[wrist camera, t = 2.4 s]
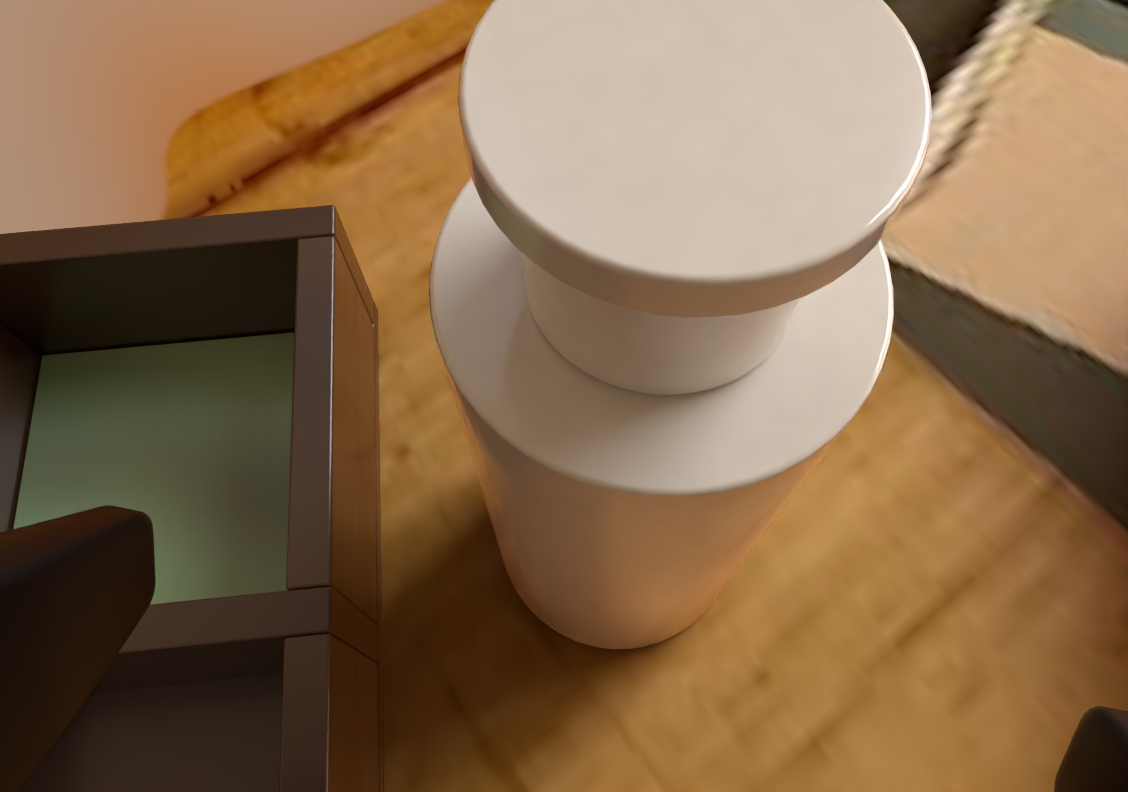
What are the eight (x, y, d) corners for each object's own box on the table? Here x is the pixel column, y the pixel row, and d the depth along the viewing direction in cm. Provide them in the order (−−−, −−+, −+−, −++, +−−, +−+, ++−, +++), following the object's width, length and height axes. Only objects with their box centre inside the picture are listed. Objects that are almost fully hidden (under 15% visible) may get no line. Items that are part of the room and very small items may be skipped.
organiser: (389, 1138, 15) (322, 1267, 11) (-125, 1202, 15) (-383, 1357, 11) (377, 309, 22) (334, 203, 18) (28, 341, 22) (-95, 241, 18)
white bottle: (607, 703, 18) (686, 517, 6) (453, 518, 20) (249, 58, 7) (781, 541, 20) (1156, 102, 7) (623, 381, 22) (698, -203, 9)
